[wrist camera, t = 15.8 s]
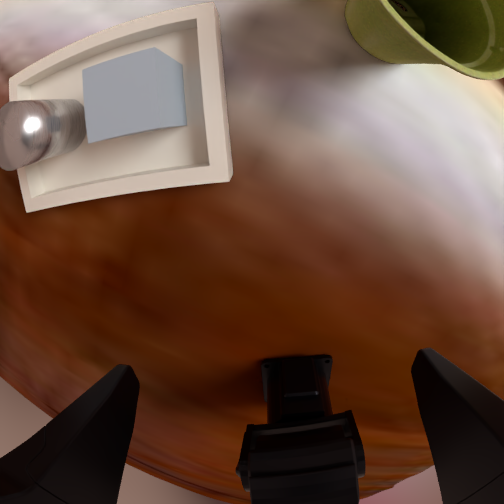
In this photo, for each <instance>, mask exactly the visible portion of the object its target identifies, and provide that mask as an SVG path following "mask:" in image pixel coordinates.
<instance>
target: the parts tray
mask: <svg viewBox="0 0 504 504" xmlns="http://www.w3.org/2000/svg"><path fill="white" fill-rule="evenodd" d="M153 47H156V48H157V49H159V50H160V51H162V52H164V53H165V54H167V55H168V56H170V57H171V58H173V59H174V60H176V61H177V62H179V63H180V64H182V65H183V79H184V93H185V105H186V116H187V125H186V126H179V127H172V128H166V129H160V130H155V131H149V132H144V133H139V134H134V135H129V136H123V137H118V138H113V139H108V140H103V141H98V142H94V143H89V144H88V138H87V133H86V136H85V138H84V140H83V142H82V143H81V145H80V146H79V147H78V148H77V149H75V150H74V151H72V152H69V153H65V154H62V155H58V156H55V157H51V158H48V159H45V160H42V161H39V162H35V163H32V164H29V165H27V166H24V167H21V168H18V169H17V172H18V177H19V182H20V187H21V192H22V196H23V200H24V205H25V209H26V212H27V213H28V212H33V211H37V210H41V209H46V208H51V207H55V206H60V205H65V204H70V203H75V202H81V201H86V200H92V199H97V198H103V197H109V196H115V195H121V194H128V193H135V192H142V191H149V190H156V189H164V188H172V187H180V186H189V185H198V184H208V183H219V182H229V181H230V179H231V177H232V175H233V166H232V156H231V145H230V134H229V123H228V112H227V101H226V90H225V79H224V67H223V55H222V43H221V31H220V18H219V14H218V11H217V9H216V6H215V4H214V2H208V3H202V4H196V5H191V6H185V7H181V8H176V9H171V10H167V11H163V12H159V13H155V14H152V15H148V16H144V17H141V18H138V19H134V20H131V21H128V22H125V23H122V24H119V25H116V26H113V27H111V28H108V29H105V30H103V31H100V32H98V33H95V34H93V35H90V36H88V37H85V38H83V39H81V40H79V41H76V42H74V43H72V44H70V45H68V46H66V47H64V48H62V49H60V50H58V51H56V52H54V53H52V54H50V55H48V56H46V57H44V58H42V59H41V60H39V61H37V62H35V63H34V64H32V65H30V66H28V67H27V68H25V69H23V70H22V71H20V72H19V73H17V74H16V75H14V76H12V77H11V78H9V101H10V102H11V101H22V100H41V99H75V100H77V101H79V102H80V103H81V104H82V105H83V106H84V97H83V78H82V70H83V69H86V68H88V67H91V66H94V65H96V64H99V63H102V62H105V61H108V60H111V59H114V58H117V57H120V56H124V55H127V54H130V53H134V52H138V51H141V50H145V49H149V48H153Z"/></svg>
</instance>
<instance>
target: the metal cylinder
mask: <svg viewBox="0 0 504 504" xmlns="http://www.w3.org/2000/svg"><path fill="white" fill-rule="evenodd" d="M86 133H87V130H86V121H85V110H84V106H83V105H82V104H81V103H80V102H79V101H77V100H75V99H41V100H22V101H11V102H8V103H6V104H5V105H4V106H3V107H2V108H1V109H0V167H1V168H3V169H4V170H7V171H12V170H15V169H18V168H21V167H24V166H27V165H29V164H32V163H35V162H39V161H42V160H45V159H48V158H51V157H55V156H58V155H62V154H65V153H69V152H72V151H74V150H75V149H77V148H78V147H79V146H80V145H81V143H82V142H83V140H84V138H85V136H86Z"/></svg>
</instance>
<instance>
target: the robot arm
mask: <svg viewBox="0 0 504 504" xmlns="http://www.w3.org/2000/svg"><path fill="white" fill-rule="evenodd" d="M332 362H333V361H332V357H331V356H330V355H321V356H310V357H298V358H283V359H266V360H263V361H262V363H261V368H262V379H263V391H264V400H265V402H267V424H260V425H254V424H248V425H247V429H246V432H245V433H244V438H243V443H242V448H241V453H240V459H239V462H238V464H237V467H236V474H237V475H238V476H239V477H240V478H241V481H242V485H243V488H244V490H245V491H250V497H251V504H358V503H359V486H358V478H360V477H364V475H365V456H364V450H363V445H362V441H361V438H360V435H359V432H358V429H357V426H356V423H355V420H354V417H353V414H352V411H351V410H348V411H345V412H343V413H338V414H333V412H332V407H331V402H330V396H329V391H328V386H329V380H330V374H331V368H332ZM266 364H268V365H266ZM411 374H412V378H413V383H414V387H415V392H416V397H417V402H418V407H419V411H420V415H421V418H422V422H423V425H424V428H425V432H426V435H427V438H428V442H429V446H430V449H431V453H432V457H433V461H434V465H435V469H436V472H437V477H438V482H439V486H440V491H441V496H442V501H443V504H504V400H502V399H501V398H500V397H498V396H497V395H496V394H494V393H493V392H491V391H490V390H489V389H487V388H486V387H485V386H483V385H482V384H481V383H479V382H478V381H476V380H475V379H474V378H472V377H471V376H470V375H468V374H467V373H465V372H464V371H463V370H461V369H460V368H458V367H457V366H456V365H454V364H453V363H452V362H450V361H449V360H447V359H446V358H445V357H443V356H442V355H440V354H439V353H437V352H436V351H435V350H433V349H432V348H425V349H420V350H419V351H418V352H417V355H416V357H415V360H414V362H413V365H412V368H411ZM139 388H140V385H139V381H138V379H137V377H136V375H135V373H134V371H133V369H132V367H131V366H130V365H123V364H119V365H117V366H116V367H114V368H113V369H112V370H111V371H110V372H108V373H107V374H106V375H105V376H104V377H103V378H101V379H100V380H99V381H98V382H97V383H95V384H94V385H93V386H92V387H91V388H89V389H88V390H87V391H86V392H85V393H83V394H82V395H81V396H80V397H79V398H77V399H76V400H75V401H74V402H73V403H72V404H70V405H69V406H68V407H67V408H66V409H64V410H63V411H62V412H61V413H60V414H58V415H57V416H56V417H55V418H54V419H52V420H51V421H50V422H49V423H48V424H47V425H46V426H44V427H43V428H42V429H40V430H39V431H38V432H37V433H36V434H34V435H33V436H32V437H31V438H29V439H28V440H27V441H25V442H24V443H22V444H21V445H20V446H18V447H17V448H15V449H13V450H12V451H11V452H9V453H7V454H6V455H4V456H3V457H1V458H0V504H117V499H118V494H119V489H120V484H121V480H122V475H123V470H124V466H125V462H126V457H127V453H128V449H129V445H130V441H131V437H132V433H133V428H134V422H135V415H136V408H137V402H138V395H139Z"/></svg>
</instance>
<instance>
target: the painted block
mask: <svg viewBox="0 0 504 504" xmlns="http://www.w3.org/2000/svg"><path fill="white" fill-rule="evenodd" d="M82 78H83V97H84V110H85V121H86V130H87V138H88V144H89V143H94V142H98V141H103V140H108V139H113V138H118V137H123V136H129V135H134V134H139V133H144V132H149V131H155V130H160V129H166V128H172V127H179V126H186V125H187V116H186V105H185V93H184V79H183V65H182V64H180V63H179V62H177V61H176V60H174V59H173V58H171V57H170V56H168V55H167V54H165V53H164V52H162V51H160V50H159V49H157V48H156V47H153V48H149V49H145V50H141V51H138V52H134V53H130V54H127V55H124V56H120V57H117V58H114V59H111V60H108V61H105V62H102V63H99V64H96V65H94V66H91V67H88V68H86V69H83V70H82Z"/></svg>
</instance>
